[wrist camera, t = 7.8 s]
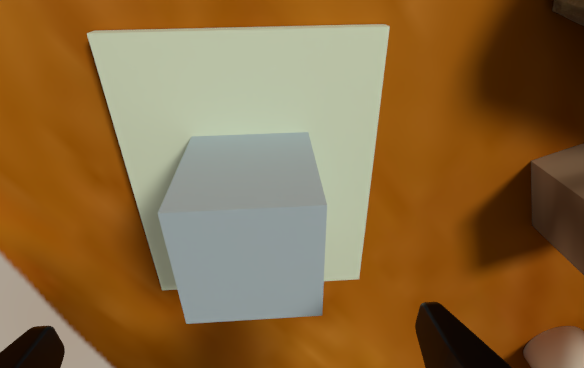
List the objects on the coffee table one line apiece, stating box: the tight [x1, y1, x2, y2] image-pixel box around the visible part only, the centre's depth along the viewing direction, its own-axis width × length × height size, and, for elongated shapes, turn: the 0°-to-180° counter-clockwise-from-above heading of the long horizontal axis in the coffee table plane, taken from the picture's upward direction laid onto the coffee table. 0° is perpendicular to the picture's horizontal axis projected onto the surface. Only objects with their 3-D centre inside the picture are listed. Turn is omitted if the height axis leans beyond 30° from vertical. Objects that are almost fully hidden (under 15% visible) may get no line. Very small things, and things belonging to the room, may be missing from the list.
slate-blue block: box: [158, 132, 327, 324], centre depth 13 cm, size 4×4×5 cm
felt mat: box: [87, 24, 390, 290], centre depth 15 cm, size 12×10×1 cm
